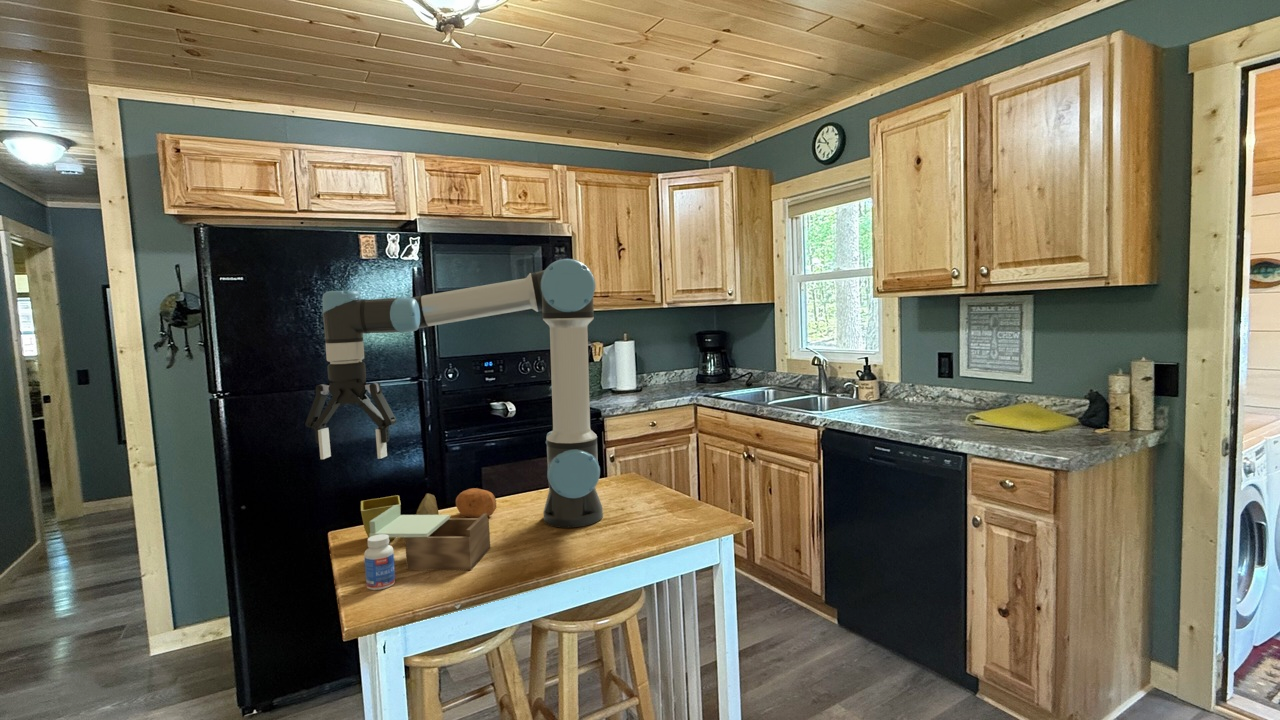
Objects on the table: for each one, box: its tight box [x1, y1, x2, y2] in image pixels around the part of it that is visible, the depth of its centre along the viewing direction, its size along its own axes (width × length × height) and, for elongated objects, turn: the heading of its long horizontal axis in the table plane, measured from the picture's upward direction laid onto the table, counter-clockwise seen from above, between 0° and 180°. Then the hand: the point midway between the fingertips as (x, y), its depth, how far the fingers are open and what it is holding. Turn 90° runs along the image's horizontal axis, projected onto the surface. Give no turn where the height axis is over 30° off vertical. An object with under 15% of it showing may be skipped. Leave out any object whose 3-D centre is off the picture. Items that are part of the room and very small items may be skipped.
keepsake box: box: [404, 513, 491, 571], centre depth 138 cm, size 14×12×8 cm
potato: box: [455, 487, 497, 518], centre depth 166 cm, size 9×11×8 cm
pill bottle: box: [363, 534, 396, 591], centre depth 126 cm, size 6×5×10 cm
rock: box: [415, 493, 440, 515], centre depth 152 cm, size 11×9×10 cm
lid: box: [368, 505, 451, 538], centre depth 139 cm, size 13×12×3 cm
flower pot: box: [360, 494, 402, 541], centre depth 152 cm, size 9×9×9 cm
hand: (353, 457), depth 139 cm, fingers open, 13 cm apart
